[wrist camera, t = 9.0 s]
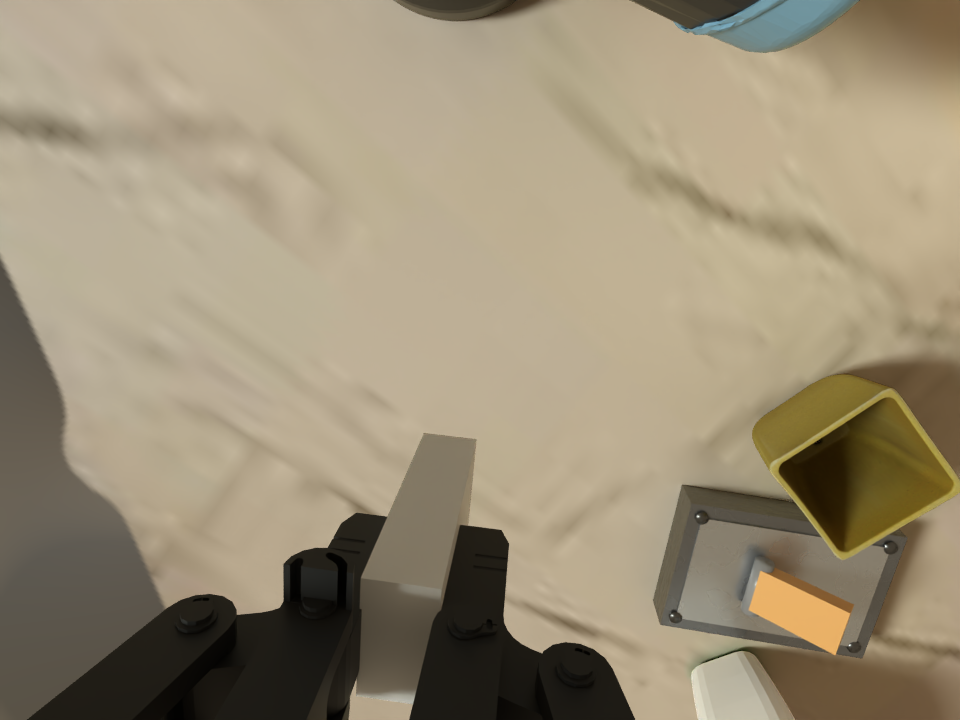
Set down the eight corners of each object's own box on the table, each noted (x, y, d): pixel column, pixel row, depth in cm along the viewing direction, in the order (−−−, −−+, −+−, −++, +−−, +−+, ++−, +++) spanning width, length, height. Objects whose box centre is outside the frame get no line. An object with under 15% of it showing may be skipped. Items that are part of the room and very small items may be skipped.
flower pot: (889, 434, 47) (969, 490, 38) (787, 497, 49) (842, 564, 40) (825, 347, 45) (893, 385, 37) (723, 415, 47) (766, 467, 39)
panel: (682, 484, 49) (692, 504, 46) (885, 516, 49) (909, 539, 45) (653, 600, 52) (660, 626, 49) (843, 632, 52) (863, 660, 49)
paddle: (752, 560, 46) (852, 608, 42) (758, 554, 47) (856, 599, 43) (737, 610, 47) (833, 660, 43) (743, 602, 48) (837, 650, 44)
